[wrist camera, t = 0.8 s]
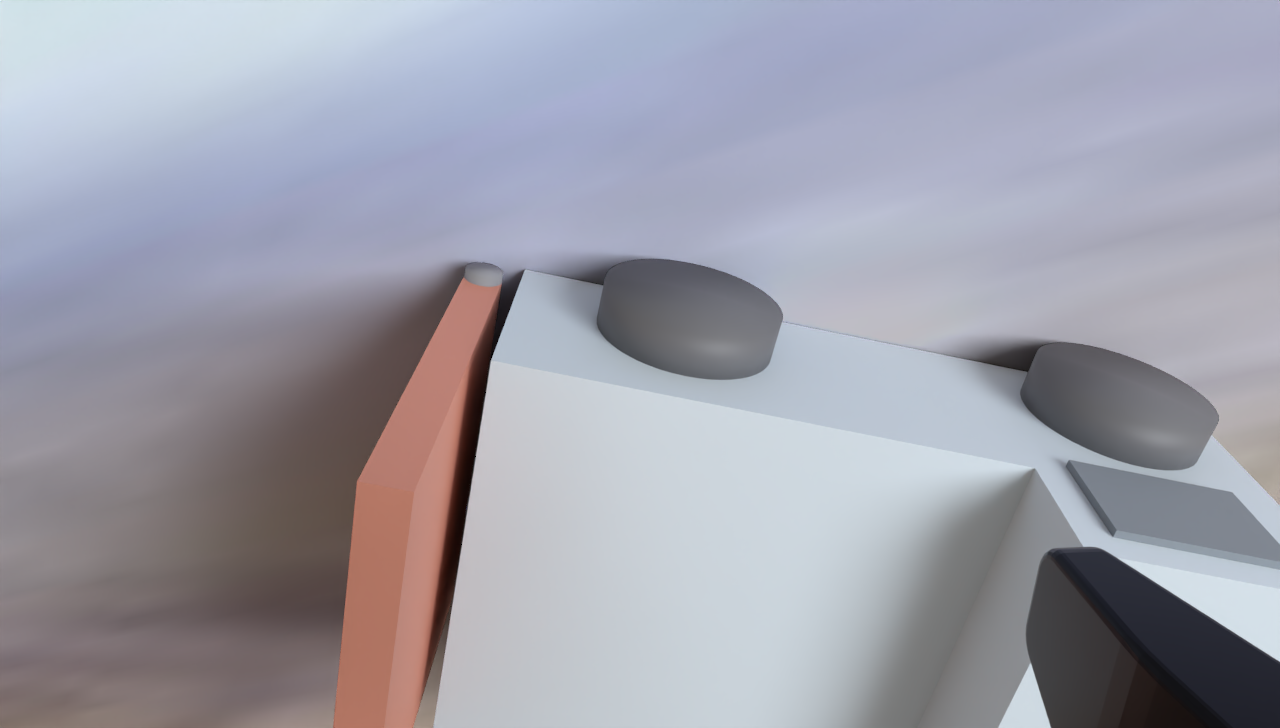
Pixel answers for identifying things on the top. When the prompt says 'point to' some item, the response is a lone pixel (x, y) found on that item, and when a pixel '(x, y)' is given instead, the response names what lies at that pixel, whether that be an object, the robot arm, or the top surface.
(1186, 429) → the white stepped block
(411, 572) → the tailgate
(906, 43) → the top surface
